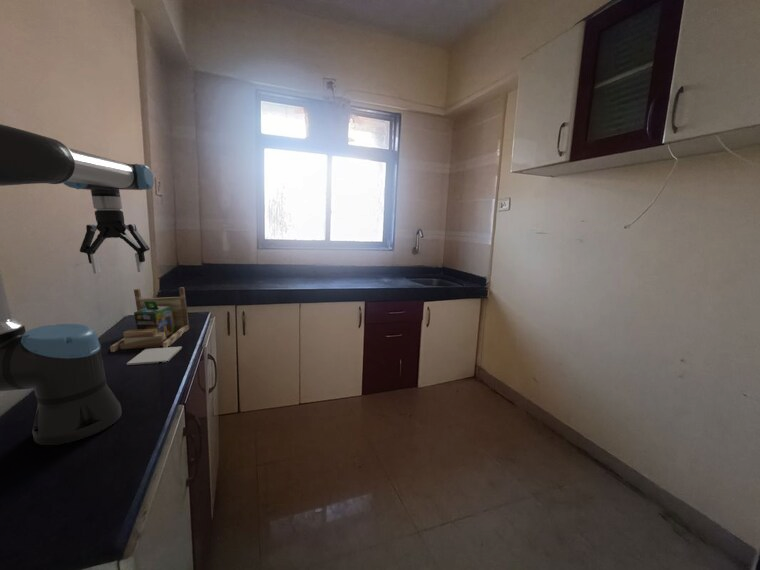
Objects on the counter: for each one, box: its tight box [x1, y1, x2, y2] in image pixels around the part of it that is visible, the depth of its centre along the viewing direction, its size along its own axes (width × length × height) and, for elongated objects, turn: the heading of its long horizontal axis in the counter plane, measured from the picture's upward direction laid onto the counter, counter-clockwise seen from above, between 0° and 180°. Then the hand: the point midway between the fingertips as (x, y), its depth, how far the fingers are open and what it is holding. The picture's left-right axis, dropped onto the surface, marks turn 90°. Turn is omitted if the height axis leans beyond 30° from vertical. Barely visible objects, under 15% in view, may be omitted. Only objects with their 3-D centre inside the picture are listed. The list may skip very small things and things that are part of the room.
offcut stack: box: [119, 328, 168, 350], centre depth 123 cm, size 4×14×6 cm, turn 100°
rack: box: [109, 286, 190, 353], centre depth 128 cm, size 22×18×18 cm
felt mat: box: [126, 346, 183, 366], centre depth 114 cm, size 12×12×1 cm
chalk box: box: [133, 301, 177, 338], centre depth 131 cm, size 9×9×15 cm
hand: (119, 272), depth 116 cm, fingers open, 13 cm apart
